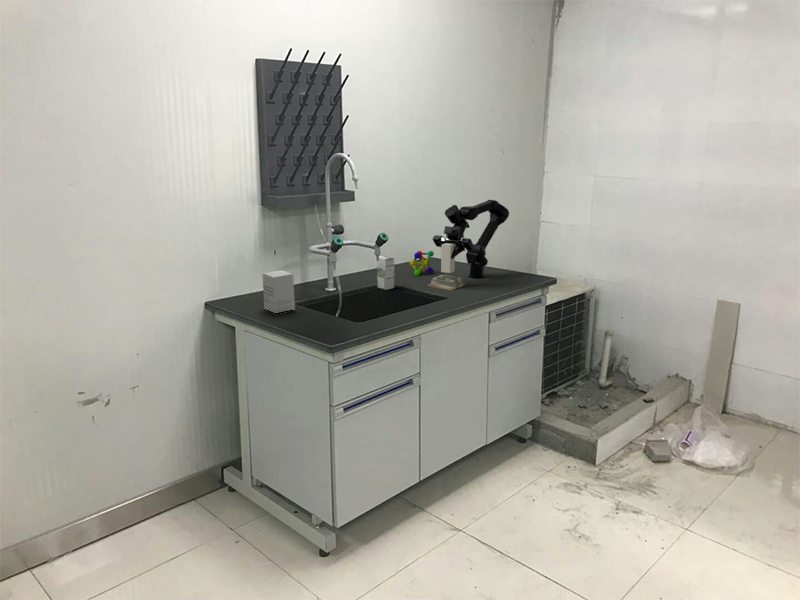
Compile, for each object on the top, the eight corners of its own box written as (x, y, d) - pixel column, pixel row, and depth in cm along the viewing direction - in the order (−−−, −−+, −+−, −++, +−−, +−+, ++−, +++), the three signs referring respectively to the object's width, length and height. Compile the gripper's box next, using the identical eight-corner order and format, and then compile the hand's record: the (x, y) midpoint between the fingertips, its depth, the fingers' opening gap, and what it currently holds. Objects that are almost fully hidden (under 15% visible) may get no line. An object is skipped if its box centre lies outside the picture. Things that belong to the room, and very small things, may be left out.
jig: (441, 281, 297) (441, 274, 296) (465, 284, 290) (465, 277, 289) (428, 286, 287) (428, 279, 286) (452, 290, 280) (452, 282, 279)
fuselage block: (445, 270, 289) (446, 243, 285) (454, 271, 286) (455, 244, 283) (441, 271, 285) (441, 244, 282) (449, 273, 283) (450, 245, 279)
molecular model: (416, 276, 306) (417, 253, 303) (408, 273, 311) (408, 250, 308) (435, 274, 312) (436, 251, 309) (426, 271, 318) (427, 248, 315)
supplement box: (283, 305, 255) (281, 269, 251) (295, 310, 248) (294, 273, 244) (263, 309, 249) (261, 272, 245) (275, 314, 242) (273, 276, 239)
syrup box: (394, 288, 284) (394, 256, 280) (385, 290, 280) (385, 258, 276) (385, 285, 288) (385, 254, 284) (376, 287, 284) (376, 256, 280)
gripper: (434, 217, 287) (422, 245, 281) (471, 220, 278) (459, 249, 272) (442, 232, 296) (430, 259, 290) (478, 235, 286) (467, 264, 280)
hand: (446, 257), depth 283 cm, fingers closed on fuselage block, 4 cm apart
